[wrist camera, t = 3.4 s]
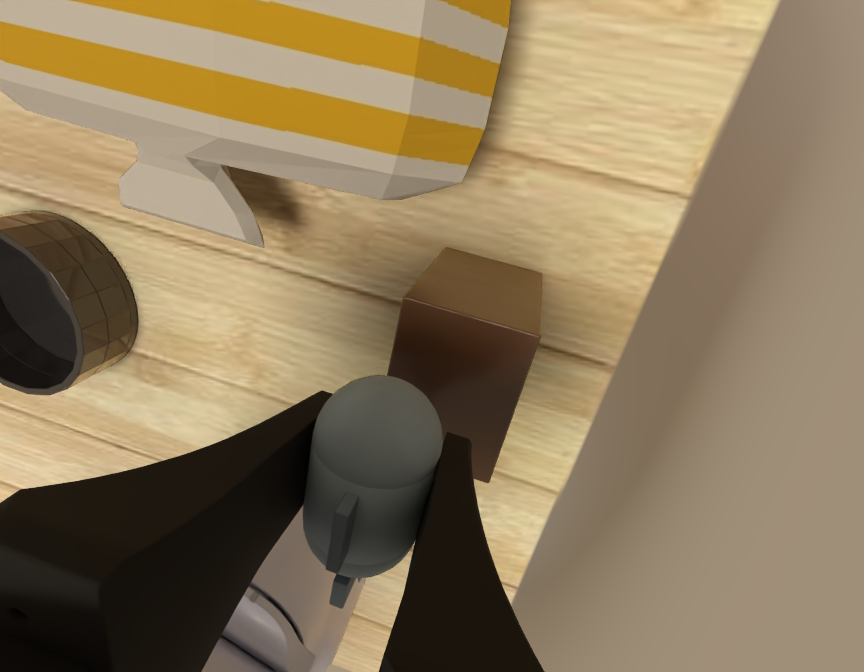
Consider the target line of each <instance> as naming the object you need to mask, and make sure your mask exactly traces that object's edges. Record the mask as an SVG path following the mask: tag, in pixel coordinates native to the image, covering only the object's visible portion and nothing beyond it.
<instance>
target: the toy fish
mask: <svg viewBox="0 0 864 672" xmlns="http://www.w3.org/2000/svg"><path fill="white" fill-rule="evenodd" d="M442 445H443V437H442V427H441V423H440V420H439V417H438V415H437V412H436V410H435V408H434V407H433V405H432V404H431V402H430V401H429V399H428V398H427V397H426V395H425V394H423V393H422V392H421V391H420V390H419V389H417V388H416V387H415V386H413V385H412V384H410V383H408V382H407V381H404V380H402V379H399V378H396V377H392V376H385V375H375V376H368V377H363V378H359V379H356V380H354V381H351V382H350V383H348V384H346V385H345V386H343V387H341V388H340V389H338V390H337V391H336V392H335V393H334V394H333V395H332V396H331V397H330V398H329V399H328V400H327V401H326V403H325V404H324V406H323V408H322V410H321V411H320V413H319V415H318V417H317V420H316V424H315V427H314V430H313V435H312V443H311V450H310V458H309V466H308V474H307V482H306V490H305V497H304V505H303V530H304V533H305V537H306V540H307V543H308V545H309V547H310V549H311V551H312V553H313V554H314V555H315V556H316V557H317V559H318V560H319V561H320V562H321V563H322V564H323V565H324V566H326V568H325V569H326V570H327V571H330V572H333V573H335V574H336V576H335V578H334V580H333V585H332V590H331V596H330V601H329V604H330V605H333V606H335V607H338V608H340V609H342V608H343V607H344V605H345V603H346V600H347V598H348V596H349V593H350V591H351V589H352V587H353V584H354V582H355V580H356V578H367V577H372V576H375V575H379V574H381V573H383V572H385V571H387V570H389V569H391V568H393V567H394V566H395V565H396V564H398V563H399V562H400V561H401V560H402V559H403V558H404V557H405V556H406V554H407V553H408V552H409V551H410V549H411V548H412V546H413V544H414V542H415V539H416V538H417V534H418V531H419V527H420V524H421V521H422V517H423V514H424V510H425V507H426V503H427V500H428V497H429V493H430V490H431V486H432V483H433V480H434V476H435V473H436V469H437V466H438V462H439V458H440V456H441V451H442Z"/></svg>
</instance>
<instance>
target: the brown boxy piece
mask: <svg viewBox="0 0 864 672" xmlns="http://www.w3.org/2000/svg"><path fill="white" fill-rule="evenodd" d="M541 307H542V274H541V273H538V272H534V271H530V270H527V269H523V268H519V267H516V266H512V265H508V264H505V263H501V262H497V261H494V260H490V259H486V258H483V257H479V256H476V255H472V254H468V253H465V252H461V251H457V250H454V249H450V248H445V249H444V250H443V251H442V253H441V254H440V255H439V256H438V257H437V258H436V260H435V261H434V262H433V263H432V264H431V265H430V266H429V268H428V269H427V270H426V271H425V272H424V273H423V275H422V276H421V277H420V278H419V279H418V280H417V281H416V283H415V284H414V285H413V286H412V287H411V288H410V290H409V291H408V292H407V293H406V294H405V295H404V297H403V299H402V304H401V309H400V314H399V319H398V324H397V329H396V334H395V339H394V344H393V349H392V354H391V359H390V364H389V369H388V374H387V376H392V377H396V378H399V379H402V380H404V381H407V382H408V383H410V384H412V385H413V386H415V387H416V388H417V389H419V390H420V391H421V392H422V393H423V394H425V395H426V397H427V398H428V399H429V401H430V402H431V404H432V405H433V407H434V408H435V410H436V412H437V415H438V417H439V420H440V423H441V427H442V437H443V442H444V439H445V436H446V433H447V432H450V433H453V434H456V435H459V436H462V437H465V438H468V439H470V441H471V443H472V452H471V457H472V472H473V479H477V480H480V481H483V482H486V483H489V482H490V479H491V476H492V473H493V470H494V467H495V465H496V462H497V459H498V456H499V453H500V451H501V448H502V445H503V442H504V439H505V437H506V434H507V431H508V428H509V425H510V422H511V420H512V417H513V414H514V411H515V408H516V406H517V403H518V400H519V397H520V394H521V391H522V389H523V386H524V383H525V380H526V377H527V375H528V372H529V369H530V366H531V363H532V360H533V358H534V355H535V352H536V349H537V346H538V344H539V341H540V338H541Z"/></svg>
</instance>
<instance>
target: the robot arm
mask: <svg viewBox="0 0 864 672" xmlns="http://www.w3.org/2000/svg"><path fill="white" fill-rule="evenodd" d="M332 395H333V394H331V393H328V392H325V391H320V392H318V393H316V394H314V395H312V396H310V397H308V398H307V399H305V400H303V401H301V402H299V403H298V404H296V405H294V406H292V407H290V408H288V409H287V410H285V411H283V412H281V413H279V414H277V415H275V416H273V417H271V418H269V419H267V420H265V421H264V422H262V423H260V424H258V425H256V426H254V427H251V428H249V429H247V430H245V431H243V432H240V433H238V434H236V435H234V436H232V437H230V438H227V439H225V440H222V441H220V442H217V443H215V444H212V445H210V446H207V447H204V448H201V449H199V450H196V451H193V452H190V453H187V454H184V455H181V456H178V457H175V458H171V459H168V460H164V461H161V462H157V463H154V464H151V465H147V466H144V467H140V468H136V469H132V470H128V471H123V472H119V473H115V474H110V475H105V476H101V477H96V478H91V479H85V480H80V481H74V482H68V483H61V484H55V485H48V486H42V487H36V488H28V489H21V490H19V491H18V492H16V493H14V494H13V495H11V496H10V497H8V498H7V499H6V500H4V501H3V502H1V503H0V672H325V671H326V670H327V669H328V667H329V665H330V664H331V662H332V661H333V659H334V657H335V655H336V653H337V650H338V648H339V645H340V643H341V640H342V638H343V635H344V633H345V630H346V628H347V625H348V623H349V620H350V618H351V615H352V613H353V610H354V608H355V605H356V603H357V600H358V598H359V595H360V593H361V590H362V588H363V585H364V583H365V580H366V578H356V580H355V582H354V584H353V587H352V589H351V591H350V593H349V596H348V598H347V600H346V603H345V605H344V607H343V608H342V609H340V608H338V607H335V606H333V605H330V604H329V601H330V596H331V590H332V585H333V580H334V578H335V576H336V574H335V573H333V572H330V571H327V570H326V569H325V568H326V566H324V565H323V564H322V563H321V562H320V561H319V560H318V559H317V557H316V556H315V555H314V554H313V553H312V551H311V549H310V547H309V545H308V543H307V540H306V537H305V533H304V530H303V505H304V497H305V490H306V482H307V474H308V466H309V458H310V450H311V443H312V435H313V430H314V427H315V424H316V420H317V417H318V415H319V413H320V411H321V410H322V408H323V406H324V404H325V403H326V401H327V400H328V399H329V398H330V397H331V396H332ZM471 452H472V443H471V441H470V439H468V438H465V437H462V436H459V435H456V434H453V433H450V432H447V433H446V436H445V439H444V442H443V445H442V451H441V456H440V458H439V462H438V466H437V469H436V473H435V476H434V480H433V483H432V486H431V490H430V493H429V497H428V500H427V503H426V507H425V510H424V514H423V517H422V521H421V524H420V527H419V531H418V534H417V538H416V540H415V545H414V549H413V554H412V558H411V563H410V568H409V572H408V577H407V581H406V586H405V590H404V594H403V597H402V600H401V603H400V607H399V610H398V613H397V616H396V619H395V622H394V625H393V628H392V631H391V634H390V637H389V640H388V644H387V647H386V650H385V653H384V656H383V659H382V663H381V666H380V669H379V672H544V670H543V668H542V667H541V665H540V663H539V661H538V659H537V658H536V656H535V654H534V652H533V650H532V648H531V646H530V644H529V642H528V641H527V639H526V637H525V635H524V633H523V631H522V629H521V627H520V625H519V622H518V620H517V618H516V616H515V613H514V611H513V609H512V607H511V605H510V602H509V600H508V598H507V596H506V593H505V591H504V589H503V586H502V584H501V581H500V579H499V576H498V573H497V571H496V568H495V565H494V562H493V559H492V556H491V553H490V550H489V547H488V544H487V540H486V537H485V533H484V530H483V526H482V522H481V518H480V513H479V509H478V504H477V498H476V493H475V487H474V480H473V472H472V457H471Z"/></svg>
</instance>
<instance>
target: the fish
mask: <svg viewBox="0 0 864 672" xmlns="http://www.w3.org/2000/svg"><path fill="white" fill-rule="evenodd" d="M510 6H511V0H0V91H2V92H3V93H4V94H6V95H7V96H8V97H10V98H11V99H12V100H14V101H15V102H16V103H17V104H19V105H20V106H21V107H23V108H24V109H25V110H27V111H31V112H34V113H37V114H41V115H44V116H48V117H51V118H55V119H58V120H61V121H65V122H68V123H72V124H75V125H79V126H82V127H85V128H89V129H92V130H96V131H99V132H102V133H106V134H109V135H113V136H116V137H120V138H123V139H126V140H130V141H133V142H135V143H136V146H137V148H138V155H137V160H136V161H135V162H134V163H133V164H132V165H131V166H130V167H129V169H128V170H127V171H126V172H125V173H124V174H123V175H122V176H121V177H120V179H119V189H120V201H121V204H122V206H123V207H126V208H129V209H133V210H136V211H139V212H143V213H146V214H150V215H153V216H157V217H160V218H163V219H167V220H170V221H174V222H177V223H180V224H184V225H187V226H191V227H194V228H197V229H201V230H204V231H208V232H211V233H214V234H218V235H221V236H225V237H228V238H231V239H235V240H238V241H242V242H245V243H248V244H252V245H255V246H259V247H262V248H265V246H264V240H263V234H262V232H261V230H260V228H259V225H258V223H257V221H256V218H255V216H254V214H253V211H252V209H251V208H250V206H249V205H248V203H247V202H246V200H245V199H244V197H243V196H242V194H241V193H240V191H239V190H238V188H237V187H236V185H235V184H234V182H233V181H232V178H231V175H230V172H229V169H228V166H231V167H235V168H240V169H244V170H249V171H253V172H258V173H262V174H267V175H271V176H276V177H280V178H285V179H289V180H294V181H298V182H303V183H307V184H312V185H316V186H321V187H325V188H330V189H334V190H339V191H343V192H347V193H352V194H356V195H361V196H365V197H370V198H374V199H379V200H402V199H406V198H409V197H413V196H416V195H420V194H424V193H427V192H431V191H434V190H438V189H441V188H445V187H449V186H452V185H456V184H459V183H462V181H463V179H464V177H465V174H466V172H467V170H468V167H469V165H470V163H471V160H472V158H473V156H474V154H475V151H476V149H477V147H478V144H479V142H480V140H481V137H482V135H483V133H484V131H485V127H486V123H487V118H488V114H489V110H490V105H491V101H492V97H493V92H494V88H495V84H496V79H497V75H498V71H499V66H500V62H501V58H502V53H503V49H504V45H505V40H506V36H507V32H508V26H509V16H510Z"/></svg>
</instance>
